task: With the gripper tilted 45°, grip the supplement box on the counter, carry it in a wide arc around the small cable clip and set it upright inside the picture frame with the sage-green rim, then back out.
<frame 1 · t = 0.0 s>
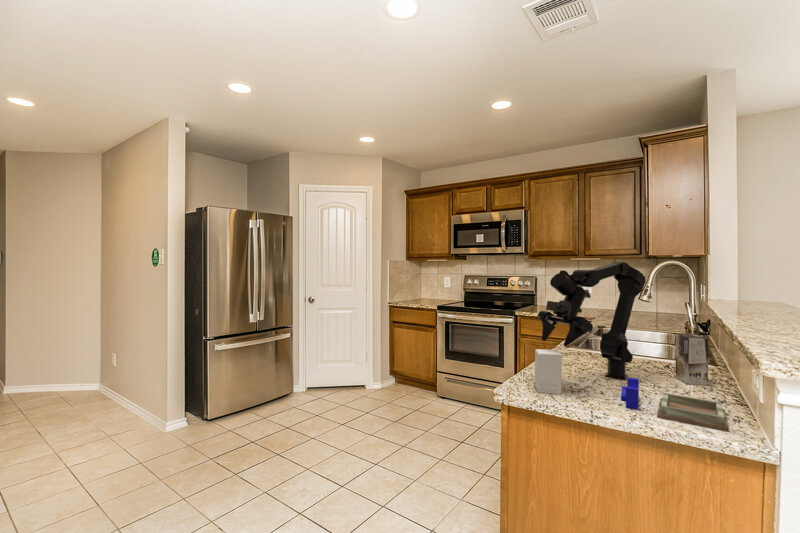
hand: (553, 343, 132), 15 cm above the countertop, tool tilted 35°, fingers open, 9 cm apart
coffee box: (691, 381, 141), on the countertop
cable clip: (629, 403, 120), on the countertop
supplement box: (547, 390, 131), on the countertop
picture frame: (691, 415, 110), on the countertop
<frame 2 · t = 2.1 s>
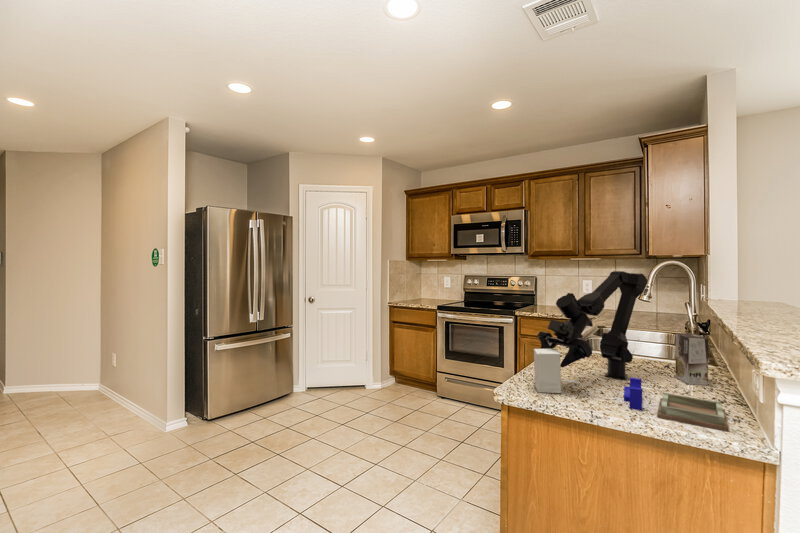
hand: (550, 363, 131), 9 cm above the countertop, tool tilted 45°, fingers open, 9 cm apart
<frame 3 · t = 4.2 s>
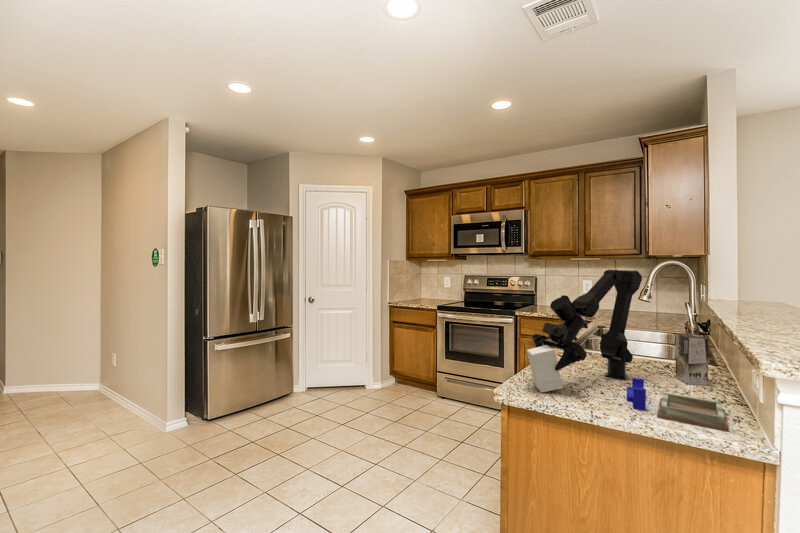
hand: (544, 366, 130), 8 cm above the countertop, tool tilted 45°, fingers closed on supplement box, 9 cm apart
supplement box: (548, 387, 130), point 1 cm above the countertop, touching gripper
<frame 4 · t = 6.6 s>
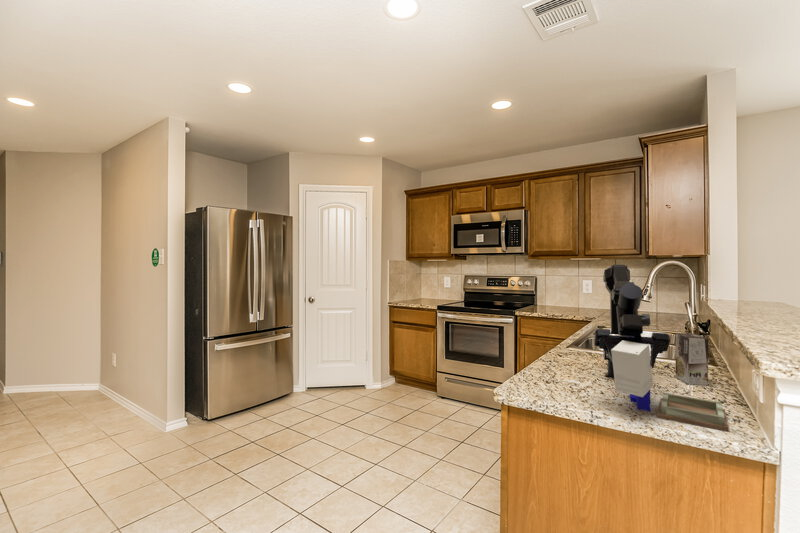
hand: (633, 365, 111), 13 cm above the countertop, tool tilted 45°, fingers closed on supplement box, 9 cm apart
supplement box: (634, 389, 113), point 6 cm above the countertop, touching gripper
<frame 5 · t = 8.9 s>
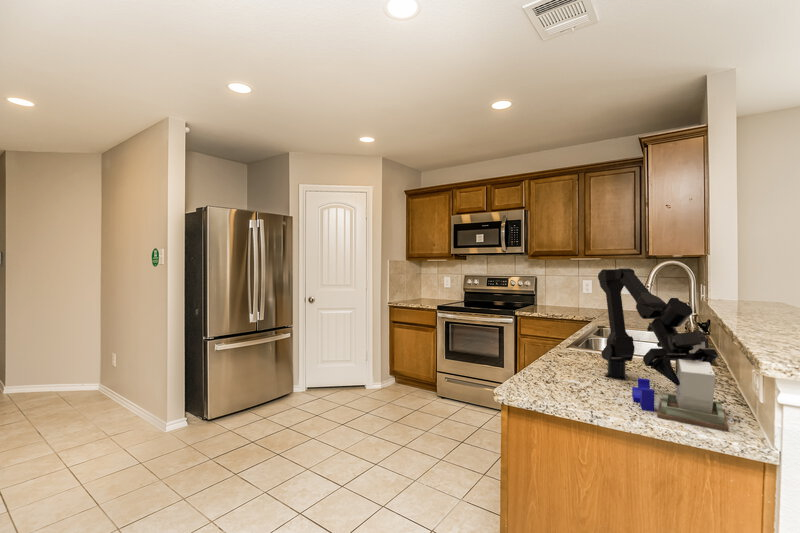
hand: (695, 384, 109), 9 cm above the countertop, tool tilted 45°, fingers closed on supplement box, 9 cm apart
supplement box: (692, 408, 110), point 2 cm above the countertop, touching gripper
when the fingers open (9 cm above the countertop, at t = 10.4 s): supplement box stays where it is, resting on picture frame.
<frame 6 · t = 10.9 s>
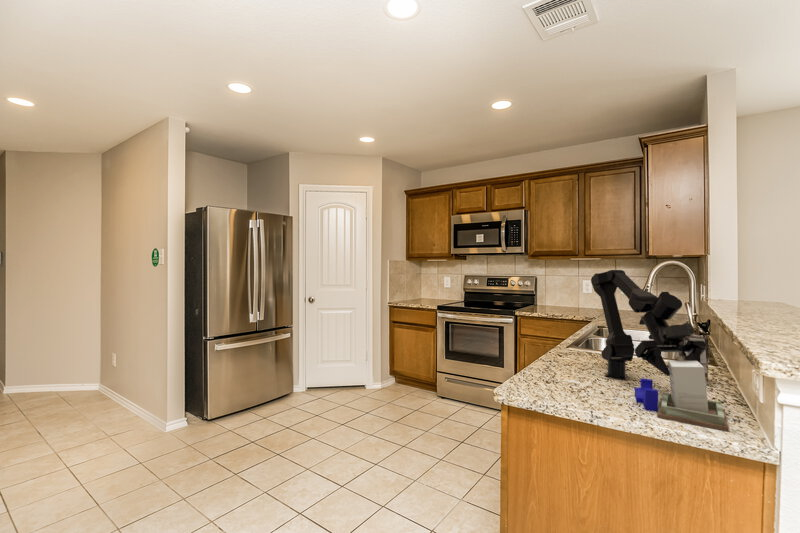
hand: (684, 375, 113), 10 cm above the countertop, tool tilted 45°, fingers open, 9 cm apart
supplement box: (689, 409, 111), point 1 cm above the countertop, touching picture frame, gripper
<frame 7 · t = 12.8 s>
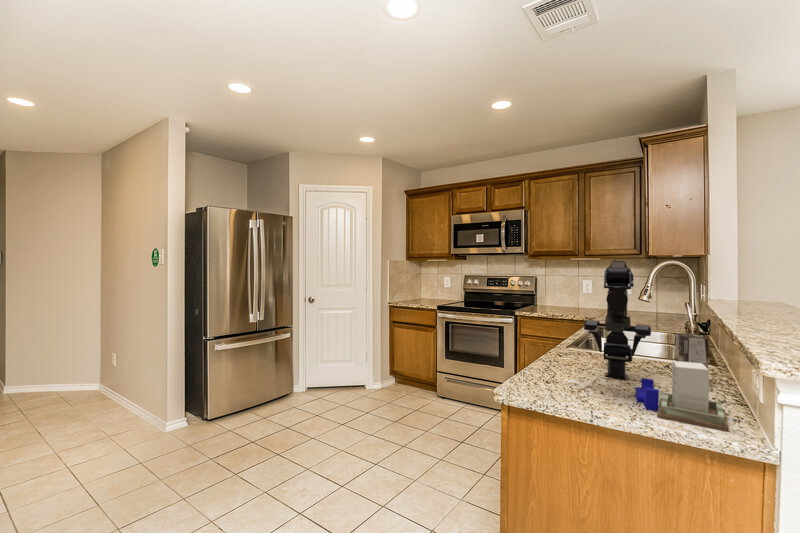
hand: (616, 354, 129), 12 cm above the countertop, tool pointing down, fingers open, 9 cm apart
supplement box: (689, 410, 111), point 1 cm above the countertop, touching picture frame
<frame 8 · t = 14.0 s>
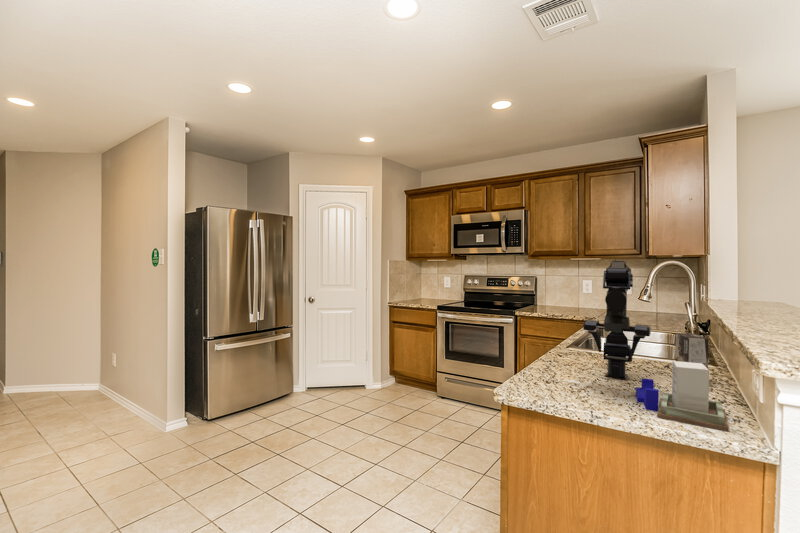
hand: (615, 354, 130), 12 cm above the countertop, tool pointing down, fingers open, 9 cm apart
at the end: supplement box 1.4 cm off-centre on the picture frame, point 0.8 cm above the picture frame's base; supplement box tilted 0°; the gripper is holding nothing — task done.
